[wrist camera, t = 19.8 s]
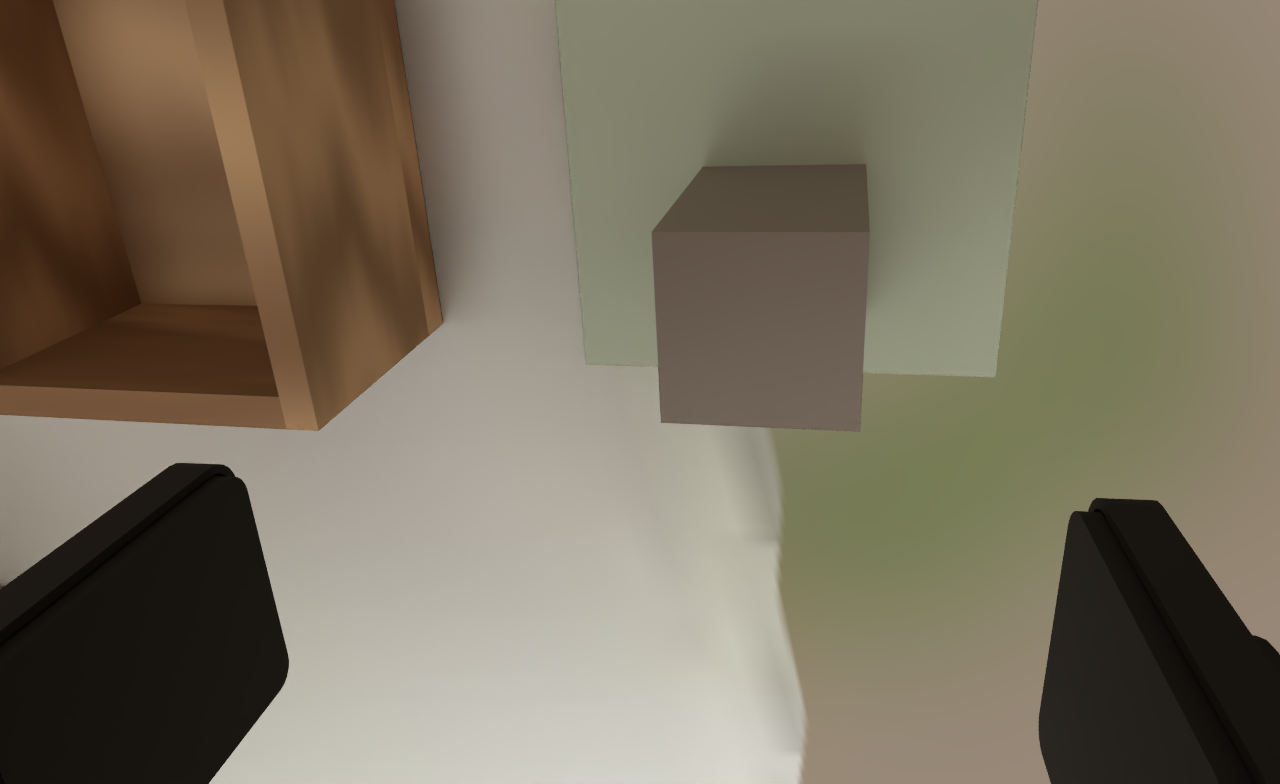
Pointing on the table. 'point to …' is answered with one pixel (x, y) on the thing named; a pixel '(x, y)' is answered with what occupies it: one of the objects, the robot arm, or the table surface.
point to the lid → (792, 194)
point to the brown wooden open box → (206, 210)
